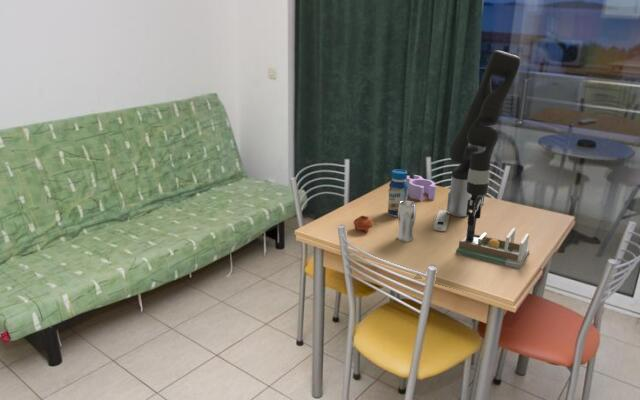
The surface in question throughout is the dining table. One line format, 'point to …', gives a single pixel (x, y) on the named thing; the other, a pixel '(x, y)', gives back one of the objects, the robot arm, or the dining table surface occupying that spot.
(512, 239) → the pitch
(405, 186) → the beverage bottle
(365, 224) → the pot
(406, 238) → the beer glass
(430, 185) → the clip
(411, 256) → the dining table surface
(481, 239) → the slider
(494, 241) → the ball
